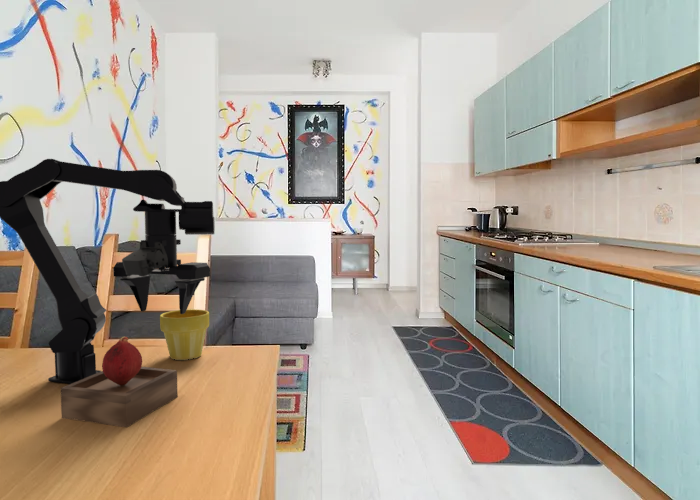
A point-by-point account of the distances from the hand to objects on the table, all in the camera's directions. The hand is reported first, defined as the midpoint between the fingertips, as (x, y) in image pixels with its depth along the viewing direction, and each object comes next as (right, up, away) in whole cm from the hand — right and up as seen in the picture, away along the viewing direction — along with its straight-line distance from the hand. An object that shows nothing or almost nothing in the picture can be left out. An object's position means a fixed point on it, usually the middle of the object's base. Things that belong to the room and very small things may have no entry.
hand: (162, 312), depth 91 cm
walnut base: (0, -13, -17) cm, 21 cm away
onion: (0, -10, -17) cm, 20 cm away
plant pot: (+1, -12, +11) cm, 16 cm away
